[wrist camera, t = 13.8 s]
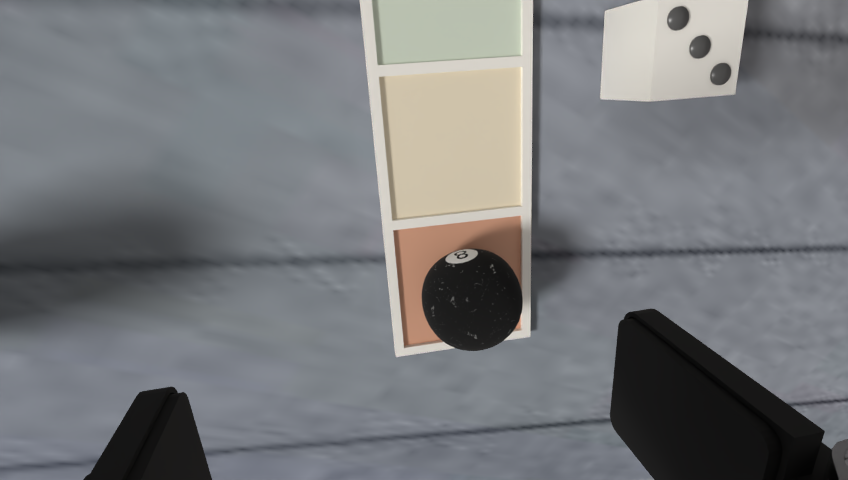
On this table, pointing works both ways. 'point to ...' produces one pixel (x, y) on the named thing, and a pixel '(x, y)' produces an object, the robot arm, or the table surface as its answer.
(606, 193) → the table surface
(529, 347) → the table surface
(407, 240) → the board
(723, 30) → the die
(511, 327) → the billiard ball
